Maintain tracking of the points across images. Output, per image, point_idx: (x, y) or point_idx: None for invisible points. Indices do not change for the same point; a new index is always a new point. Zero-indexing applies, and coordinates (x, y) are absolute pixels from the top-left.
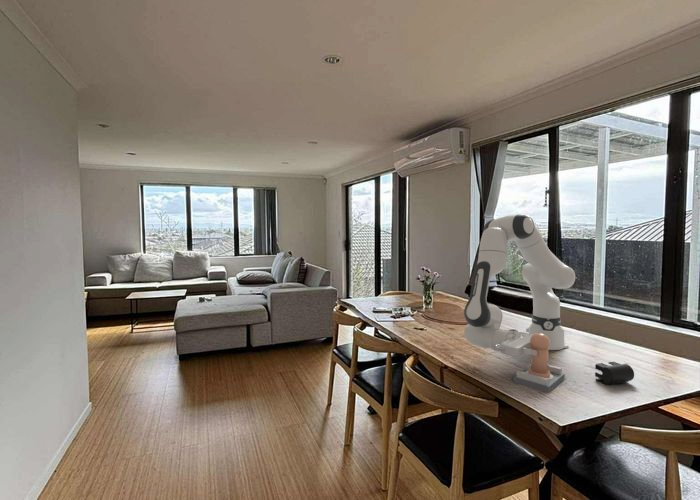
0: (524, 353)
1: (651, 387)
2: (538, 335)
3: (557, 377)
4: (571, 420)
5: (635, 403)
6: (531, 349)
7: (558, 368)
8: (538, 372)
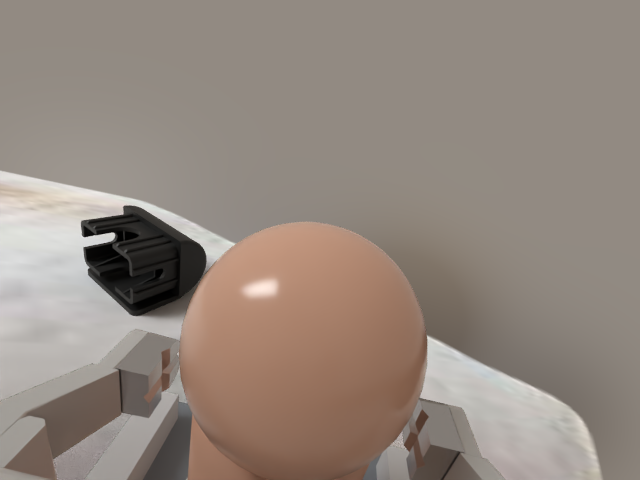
0: None
1: None
2: (393, 265)
3: None
4: (523, 387)
5: None
6: (470, 457)
7: (169, 402)
8: None
